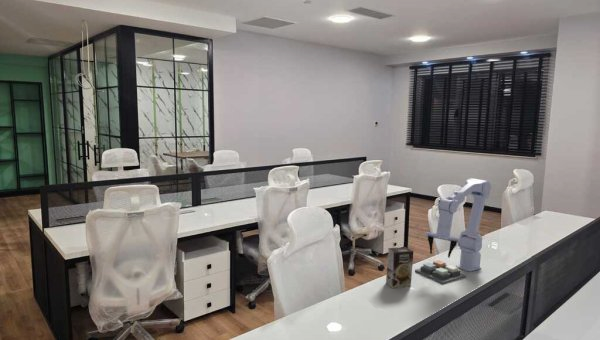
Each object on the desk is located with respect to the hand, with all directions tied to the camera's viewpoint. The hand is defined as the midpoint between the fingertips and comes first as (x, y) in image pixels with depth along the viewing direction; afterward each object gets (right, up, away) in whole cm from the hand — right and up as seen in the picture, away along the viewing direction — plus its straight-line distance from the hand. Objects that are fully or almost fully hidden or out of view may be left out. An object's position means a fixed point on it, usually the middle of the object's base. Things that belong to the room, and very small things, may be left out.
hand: (439, 255), depth 184 cm
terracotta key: (+4, -8, +12) cm, 15 cm away
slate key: (-2, -8, +8) cm, 12 cm away
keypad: (+3, -11, +7) cm, 13 cm away
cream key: (+7, -9, +6) cm, 13 cm away
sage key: (+2, -9, +2) cm, 9 cm away
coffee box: (-20, -12, -5) cm, 24 cm away
